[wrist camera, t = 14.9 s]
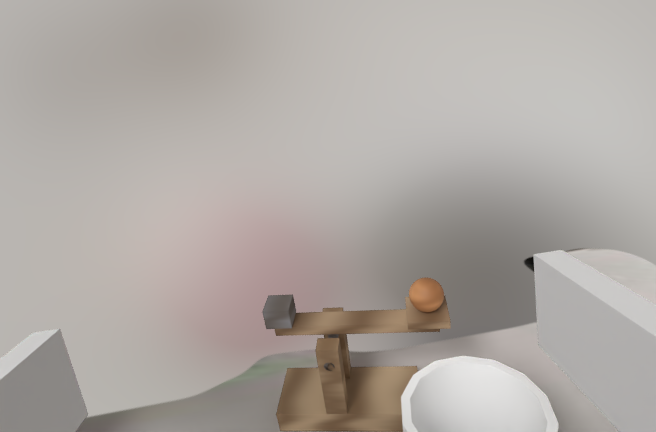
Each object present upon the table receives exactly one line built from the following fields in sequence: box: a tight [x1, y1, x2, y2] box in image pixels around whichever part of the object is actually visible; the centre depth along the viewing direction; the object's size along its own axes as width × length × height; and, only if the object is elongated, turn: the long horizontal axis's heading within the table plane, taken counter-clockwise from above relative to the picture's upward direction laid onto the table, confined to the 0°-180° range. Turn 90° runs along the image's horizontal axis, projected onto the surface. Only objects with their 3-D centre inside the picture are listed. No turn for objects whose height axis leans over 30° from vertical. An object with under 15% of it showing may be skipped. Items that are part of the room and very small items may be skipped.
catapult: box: [263, 278, 450, 432], centre depth 43 cm, size 17×6×15 cm, turn 84°
